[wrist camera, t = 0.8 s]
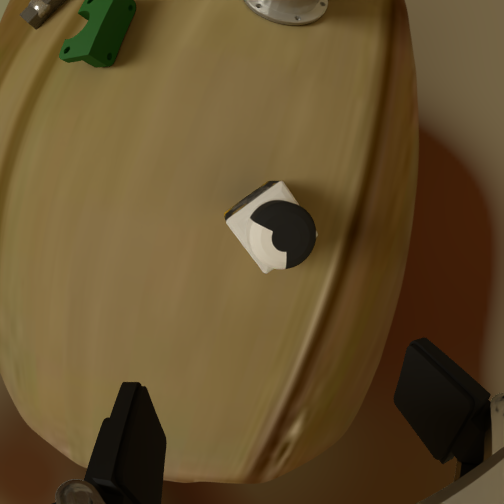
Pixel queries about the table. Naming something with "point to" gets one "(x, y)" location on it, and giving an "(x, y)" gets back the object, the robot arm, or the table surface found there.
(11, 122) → the table surface
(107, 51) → the clamp
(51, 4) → the grey metal bar
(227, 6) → the table surface
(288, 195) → the medicine bottle
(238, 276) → the table surface
